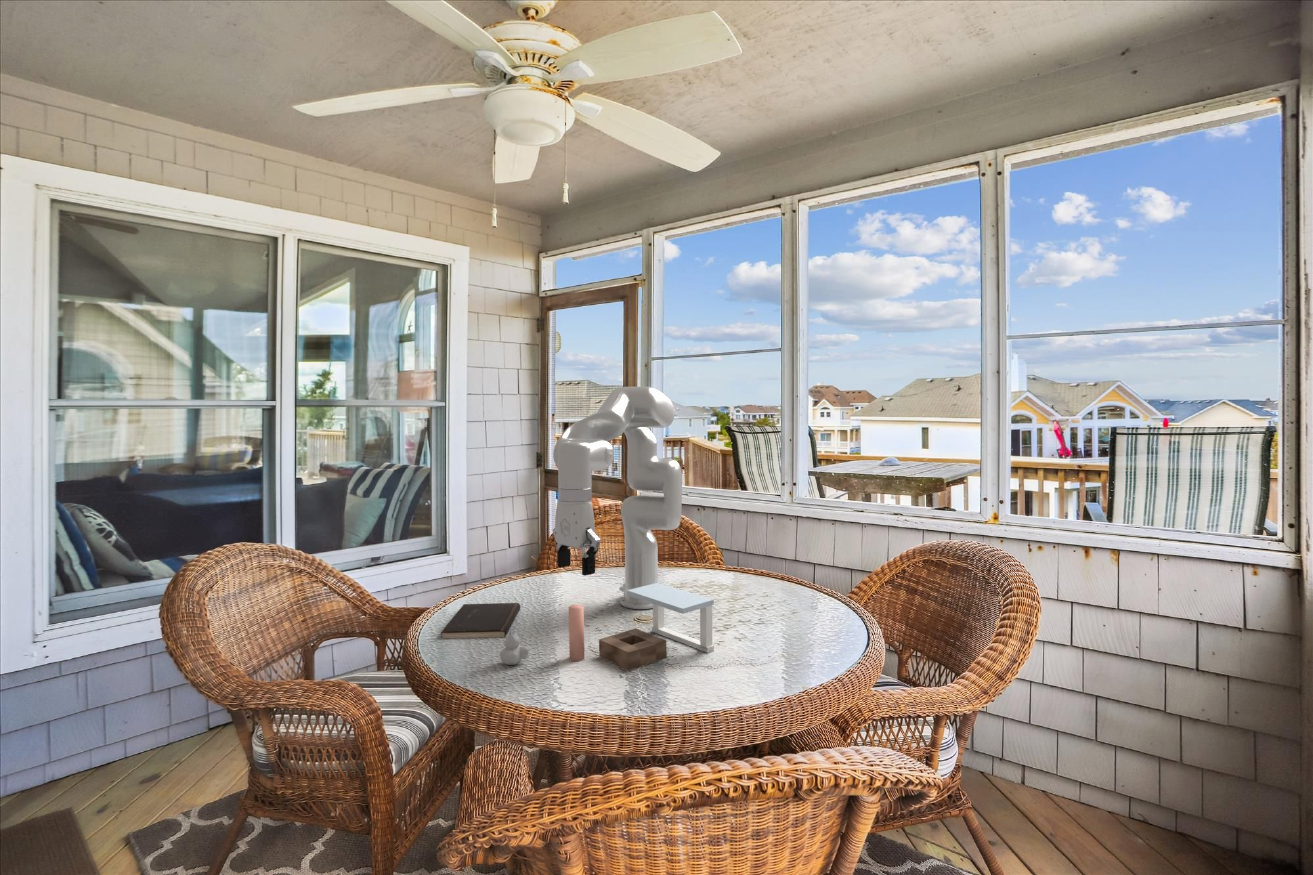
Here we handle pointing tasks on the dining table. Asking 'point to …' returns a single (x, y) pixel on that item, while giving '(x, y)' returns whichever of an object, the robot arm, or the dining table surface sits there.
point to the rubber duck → (513, 650)
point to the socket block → (632, 649)
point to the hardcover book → (482, 620)
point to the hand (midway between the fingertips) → (576, 570)
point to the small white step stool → (680, 603)
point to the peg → (576, 632)
